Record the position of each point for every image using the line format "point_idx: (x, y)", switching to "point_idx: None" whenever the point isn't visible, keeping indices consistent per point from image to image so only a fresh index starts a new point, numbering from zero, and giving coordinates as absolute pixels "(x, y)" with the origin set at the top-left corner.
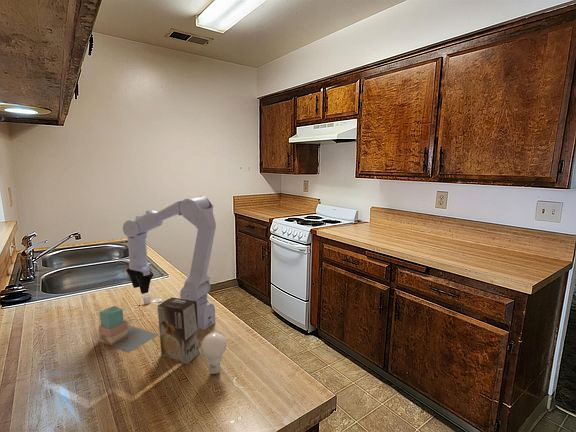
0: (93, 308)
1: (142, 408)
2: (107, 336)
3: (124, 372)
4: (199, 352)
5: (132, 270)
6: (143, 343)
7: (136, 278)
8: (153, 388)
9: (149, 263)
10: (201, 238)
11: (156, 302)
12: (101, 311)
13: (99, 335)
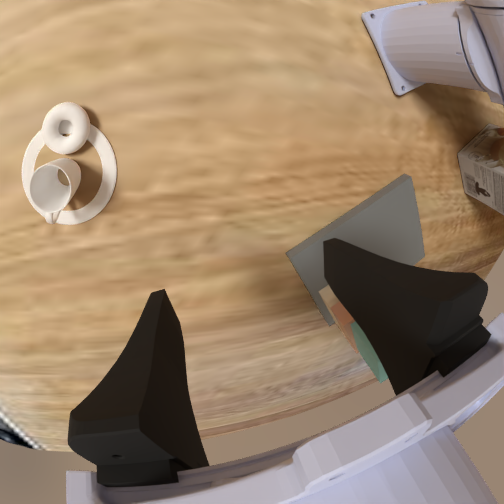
0: (54, 356)
1: (500, 236)
2: None
3: (449, 258)
4: (490, 124)
5: (195, 462)
6: (419, 223)
7: (395, 383)
8: (493, 220)
9: (407, 441)
10: None
11: (87, 131)
12: (386, 378)
13: (342, 332)
